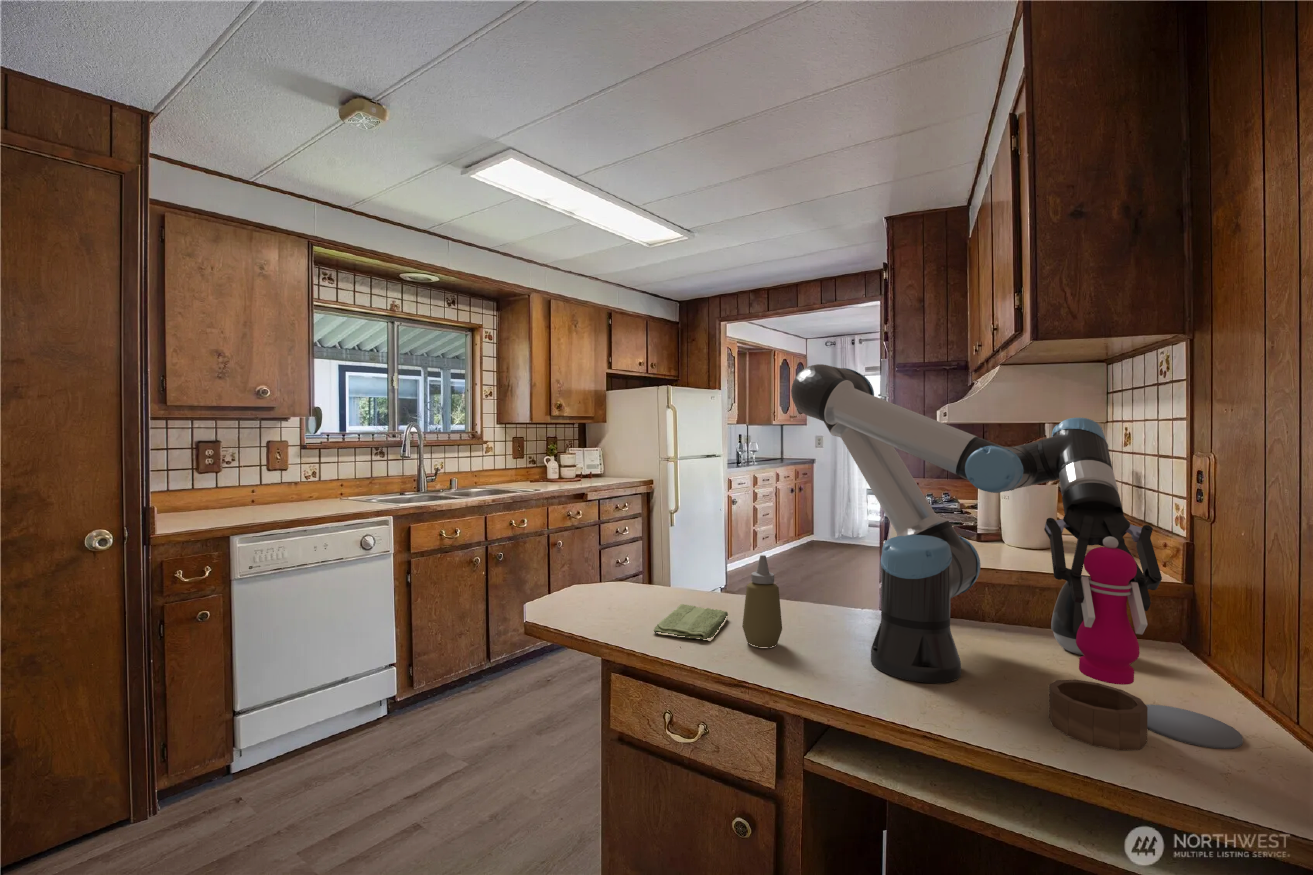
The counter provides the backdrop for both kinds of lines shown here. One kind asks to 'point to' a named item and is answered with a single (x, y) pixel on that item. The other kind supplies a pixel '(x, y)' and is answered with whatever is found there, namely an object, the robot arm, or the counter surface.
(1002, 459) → the robot arm
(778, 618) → the squeeze bottle
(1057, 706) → the brown wooden bowl
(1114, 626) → the pepper mill
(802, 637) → the counter surface
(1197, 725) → the coaster
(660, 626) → the washcloth
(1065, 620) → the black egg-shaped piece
